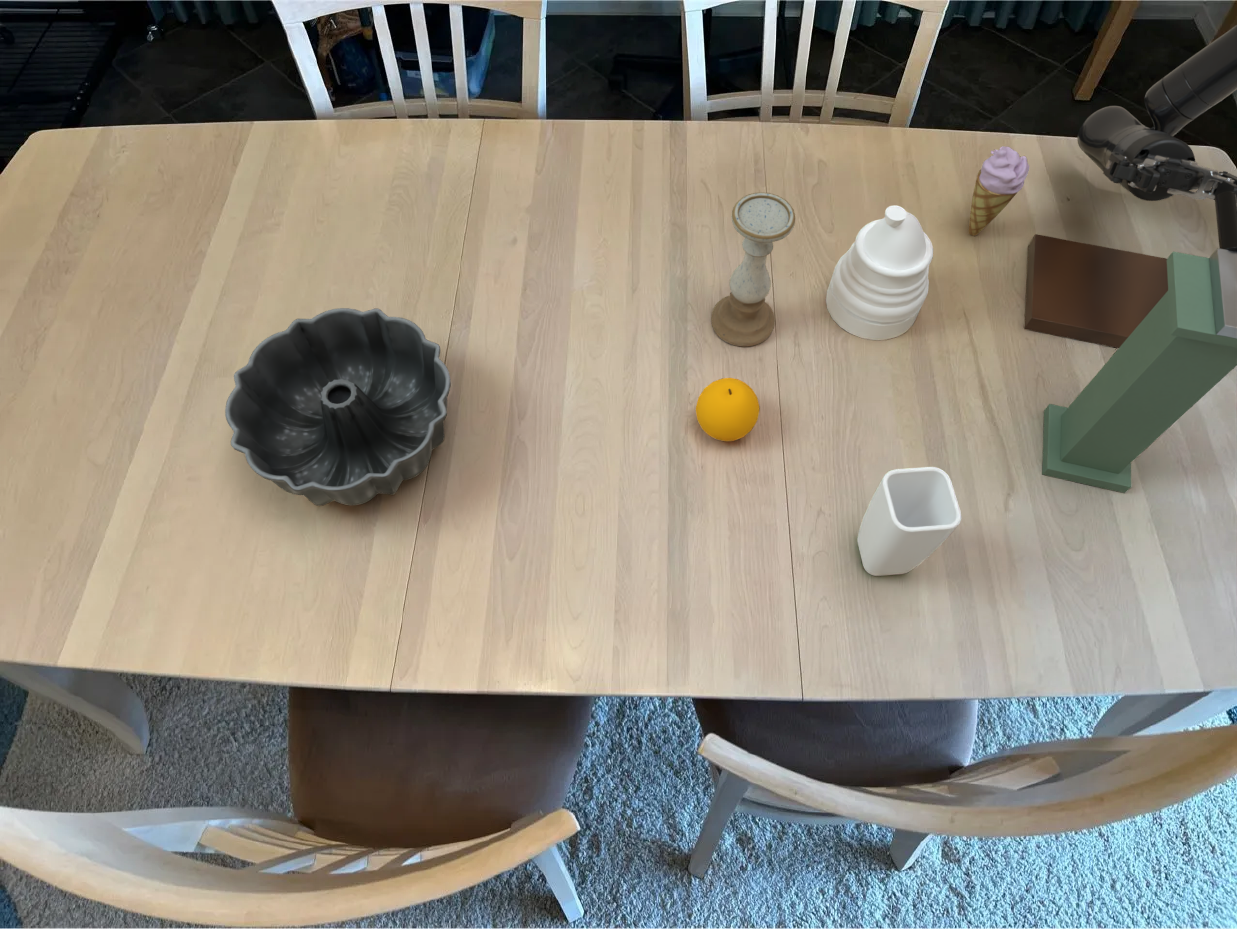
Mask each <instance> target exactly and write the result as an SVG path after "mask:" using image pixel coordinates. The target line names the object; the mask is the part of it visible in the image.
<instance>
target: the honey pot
mask: <svg viewBox="0 0 1237 929" xmlns="http://www.w3.org/2000/svg"><path fill="white" fill-rule="evenodd" d="M933 259H934V247H933V243H932V240H931V239H930V238H929V236H928V235H927V233H926V232H925V231H924V229H923V227H922V225H921V223H920V221H919V219H918V218H917V217H916V216H915V215H914V214H912V213H911V212H908V211H907V210H906V209H905V208H904V207H902V206H900V205H896V204H895V205H889V206H887V207H886V209H885V211H884V217H883V218H879V219H876V220H872V221H871V222H868V223H866V224H864V226H862V228H860V230H859V231H858V232H857V234H856V236H855V241H854V242H853V243H852V244H851V246H850V247H849V248H848V249H847V251H846V252H845V253H844V254H843V255H841V257H839V259H838V261H837V263H836V264H835V266H834V268H833V272H832V276H831V277H830V282H829V284H828V287H827V291H826V296H825V305H826V309H827V311H828V314H829V315H830V317H831V319H832V321H834V322H835V323H836V324H837V326H839V327H840V328H841V329H842V330H844V331H845V332H847V333H848V334H851V335H853V336H856V337H858V338H861V339H865V340H871V341H886V340H890V339H894V338H898V337H900V336H901V335H903V334H905V333H907V331H909V330H910V328H912V326H913V325H914V324H915V321H916V320H917V317H918V315H919V313H920V312H921V309H922V307H923V305H924V302H925V301H926V298H927V296H928V293H929V286H930V284H929V283H930V281H929V280H930V279H929V271H930V265H931V262H932V261H933Z"/></svg>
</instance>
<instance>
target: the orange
mask: <svg viewBox="0 0 1237 929" xmlns="http://www.w3.org/2000/svg"><path fill="white" fill-rule="evenodd" d="M760 409H761V408H760V403H759V399H758V396H757V394H756V393H755V391H754V390H753V388H752V387H751V386H750V385H749V384H747V383H746V382H745V381H743V380H740V379H738V378H734V377H724V378H719V379H717V380H714V381H712V382H711V383H709V384H708V385H707V386H705V387H704V388H703V389H702V391H701V393H700V394H699V396H698V397H697V401H696V405H695V414H696V419H697V422H698V424H699V426H700V428H701V429H702V431H703V432H704V433H706V435H708V436H709V437H711V438H712V439H715V440H716V441H717V440H718V441H721V442H734V441H737V440H739V439H743V438H744V437H745V436H747V435H748V434H749V433H750V432H751V431H752V430H753V429H754V427H755V426H756V424H757V423H758V420H759V416H760V415H759V414H760V411H761V410H760Z"/></svg>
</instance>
